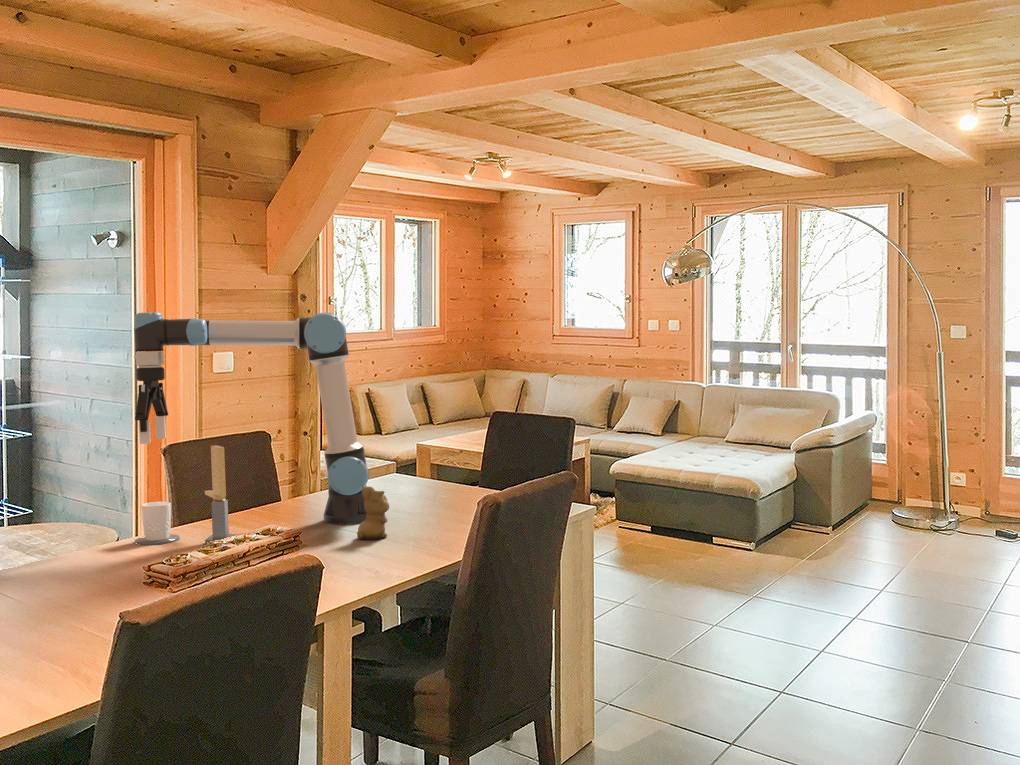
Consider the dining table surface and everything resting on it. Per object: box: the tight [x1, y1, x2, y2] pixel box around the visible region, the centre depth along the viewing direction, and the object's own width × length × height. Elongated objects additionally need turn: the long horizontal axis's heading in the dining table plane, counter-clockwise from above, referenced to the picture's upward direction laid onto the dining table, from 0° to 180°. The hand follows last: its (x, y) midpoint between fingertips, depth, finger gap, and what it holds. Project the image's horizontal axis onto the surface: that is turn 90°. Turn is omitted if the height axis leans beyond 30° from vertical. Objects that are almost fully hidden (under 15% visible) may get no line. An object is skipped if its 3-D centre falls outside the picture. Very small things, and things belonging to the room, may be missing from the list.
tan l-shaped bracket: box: [204, 444, 227, 501], centre depth 263 cm, size 16×3×15 cm, turn 33°
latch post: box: [204, 499, 237, 544], centre depth 260 cm, size 7×7×12 cm
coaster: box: [134, 533, 181, 546], centre depth 263 cm, size 12×12×1 cm
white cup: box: [141, 501, 172, 541], centre depth 263 cm, size 8×8×10 cm
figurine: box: [356, 484, 390, 541], centre depth 259 cm, size 10×8×15 cm
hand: (153, 441), depth 262 cm, fingers open, 13 cm apart
